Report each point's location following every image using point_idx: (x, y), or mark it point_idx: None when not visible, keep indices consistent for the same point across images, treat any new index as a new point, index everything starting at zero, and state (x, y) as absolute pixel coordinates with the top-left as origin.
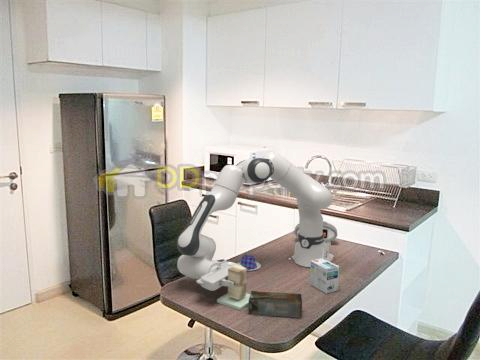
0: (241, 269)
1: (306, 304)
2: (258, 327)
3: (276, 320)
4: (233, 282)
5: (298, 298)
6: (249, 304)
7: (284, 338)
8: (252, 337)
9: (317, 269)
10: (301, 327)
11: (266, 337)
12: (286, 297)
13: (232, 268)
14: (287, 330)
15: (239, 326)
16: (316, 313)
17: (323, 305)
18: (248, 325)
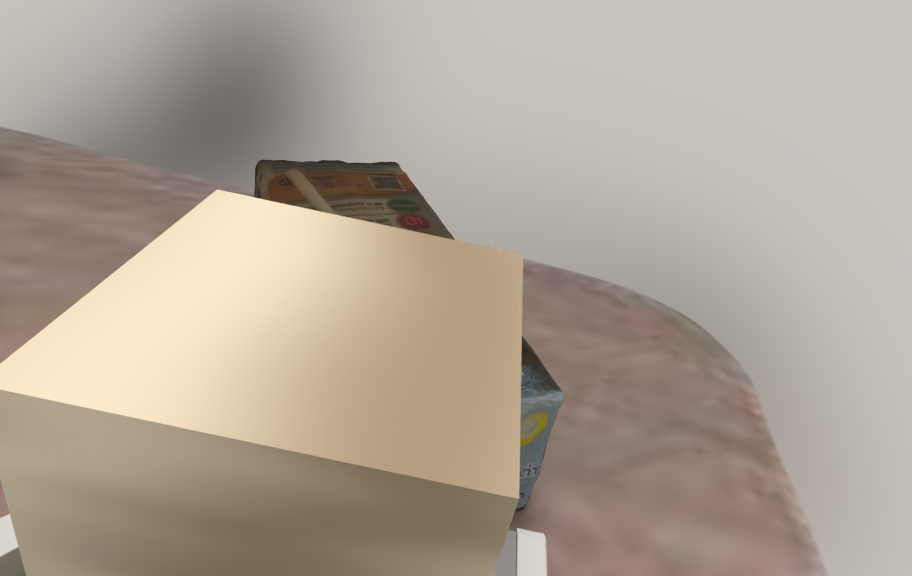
0: (355, 236)
1: None
2: (638, 402)
3: None
4: (514, 529)
5: (351, 165)
6: (550, 427)
7: (621, 295)
8: (756, 406)
9: None
10: None
11: (686, 352)
12: (372, 199)
13: (392, 392)
14: (546, 291)
15: (742, 511)
16: None
17: (181, 194)
18: (672, 460)
